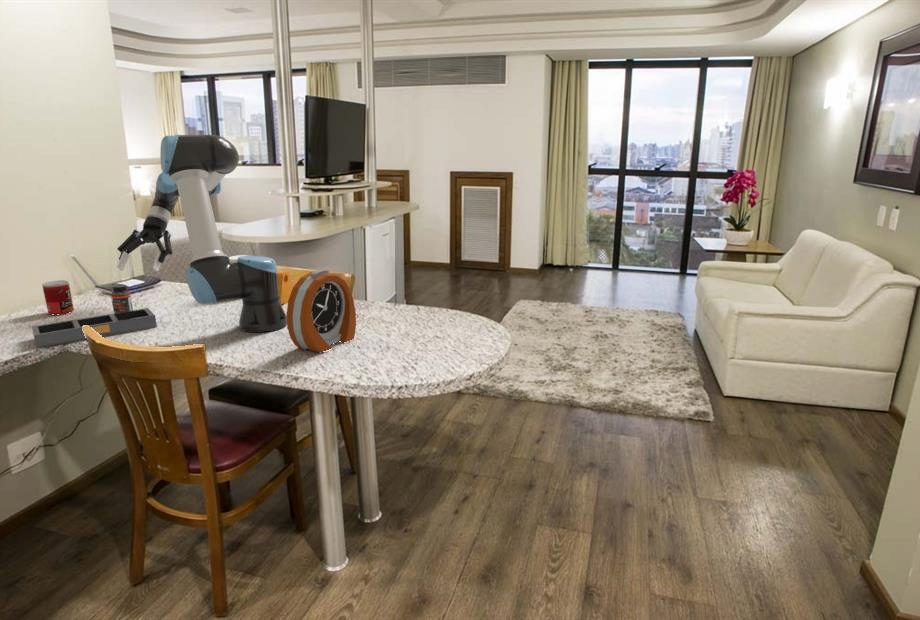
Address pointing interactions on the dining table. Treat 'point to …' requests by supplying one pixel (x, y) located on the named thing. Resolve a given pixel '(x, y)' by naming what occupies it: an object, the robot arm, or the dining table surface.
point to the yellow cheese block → (284, 286)
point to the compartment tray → (100, 324)
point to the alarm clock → (320, 311)
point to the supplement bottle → (121, 299)
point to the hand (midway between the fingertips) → (137, 269)
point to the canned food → (58, 297)
